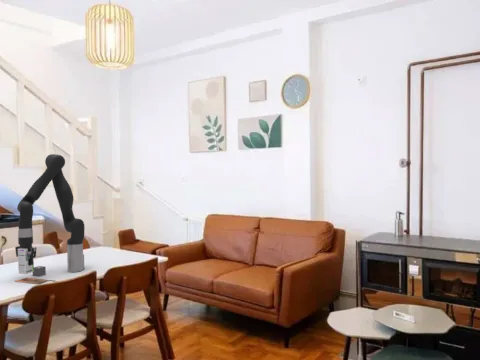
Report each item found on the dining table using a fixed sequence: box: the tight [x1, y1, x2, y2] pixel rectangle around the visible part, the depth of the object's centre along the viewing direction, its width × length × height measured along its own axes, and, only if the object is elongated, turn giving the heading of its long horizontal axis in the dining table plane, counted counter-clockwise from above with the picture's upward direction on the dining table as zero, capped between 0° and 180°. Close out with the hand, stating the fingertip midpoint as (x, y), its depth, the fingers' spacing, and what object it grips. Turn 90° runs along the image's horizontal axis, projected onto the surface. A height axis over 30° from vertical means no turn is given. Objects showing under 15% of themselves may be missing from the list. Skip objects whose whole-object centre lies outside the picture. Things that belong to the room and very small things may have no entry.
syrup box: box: [17, 248, 35, 275], centre depth 228 cm, size 6×6×14 cm
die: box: [32, 265, 47, 278], centre depth 239 cm, size 5×5×5 cm
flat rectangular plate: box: [14, 276, 55, 285], centre depth 225 cm, size 8×25×1 cm, turn 70°
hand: (26, 264), depth 228 cm, fingers closed on syrup box, 6 cm apart
